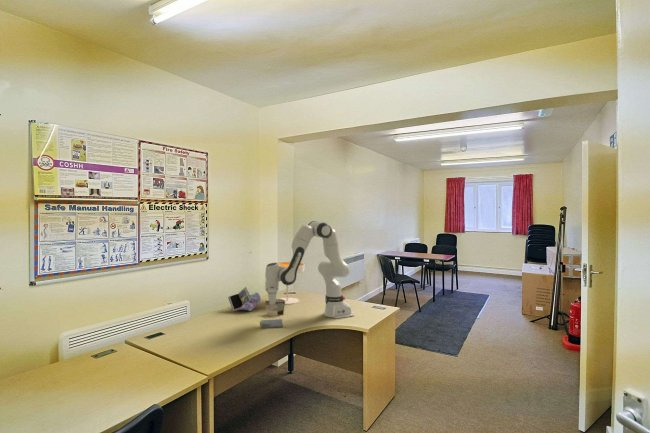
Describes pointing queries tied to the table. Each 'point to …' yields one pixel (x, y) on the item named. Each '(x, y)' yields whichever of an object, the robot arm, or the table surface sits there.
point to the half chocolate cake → (280, 307)
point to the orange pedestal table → (287, 300)
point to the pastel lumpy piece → (244, 300)
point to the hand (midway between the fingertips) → (271, 308)
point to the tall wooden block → (274, 311)
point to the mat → (271, 323)
